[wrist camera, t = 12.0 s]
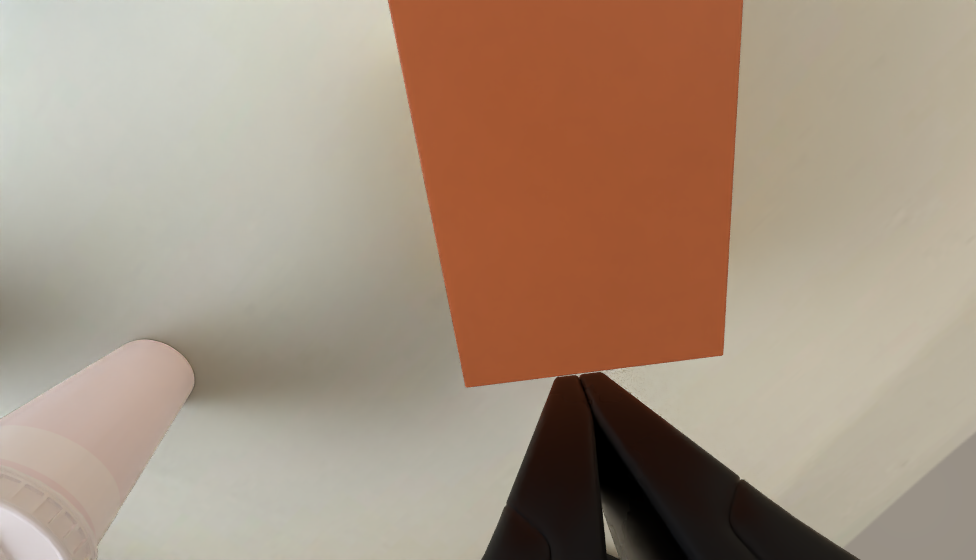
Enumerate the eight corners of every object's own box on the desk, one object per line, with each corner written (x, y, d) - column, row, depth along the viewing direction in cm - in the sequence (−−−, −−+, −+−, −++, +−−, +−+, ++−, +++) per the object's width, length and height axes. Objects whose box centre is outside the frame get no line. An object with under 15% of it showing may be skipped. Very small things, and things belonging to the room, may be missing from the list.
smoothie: (156, 290, 22) (-285, 615, 9) (251, 394, 25) (2, 766, 12) (52, 350, 23) (-461, 710, 11) (153, 444, 26) (-169, 830, 13)
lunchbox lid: (389, -9, 13) (385, -13, 12) (734, -67, 12) (748, -74, 11) (466, 375, 17) (465, 388, 17) (714, 344, 17) (723, 355, 16)
